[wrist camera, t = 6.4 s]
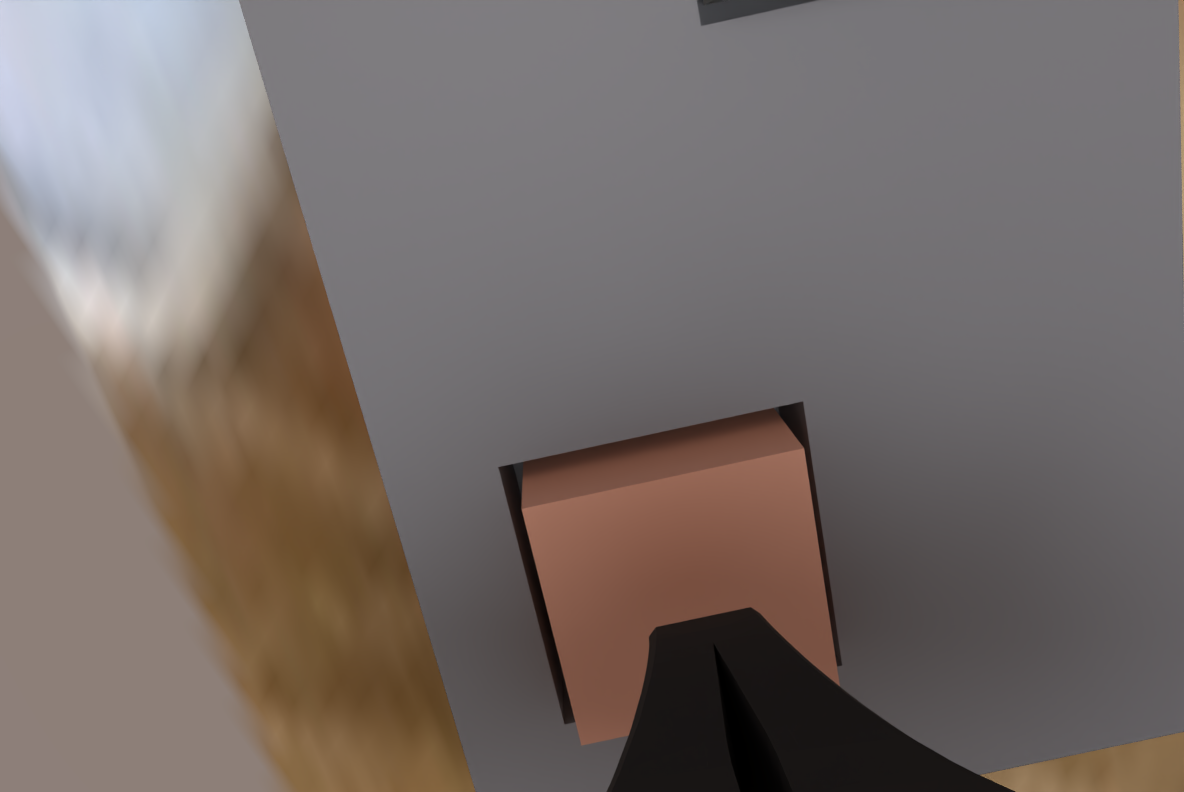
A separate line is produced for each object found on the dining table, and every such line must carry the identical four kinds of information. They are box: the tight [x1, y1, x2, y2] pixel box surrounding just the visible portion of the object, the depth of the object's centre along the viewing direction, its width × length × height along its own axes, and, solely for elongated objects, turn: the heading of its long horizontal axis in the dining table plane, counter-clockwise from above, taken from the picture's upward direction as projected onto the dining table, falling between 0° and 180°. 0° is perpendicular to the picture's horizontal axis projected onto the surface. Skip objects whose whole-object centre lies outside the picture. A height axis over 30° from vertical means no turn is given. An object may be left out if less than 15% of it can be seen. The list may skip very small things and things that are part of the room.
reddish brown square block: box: [522, 408, 840, 746], centre depth 15 cm, size 4×4×3 cm
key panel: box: [239, 0, 1184, 792], centre depth 15 cm, size 12×20×3 cm, turn 12°
